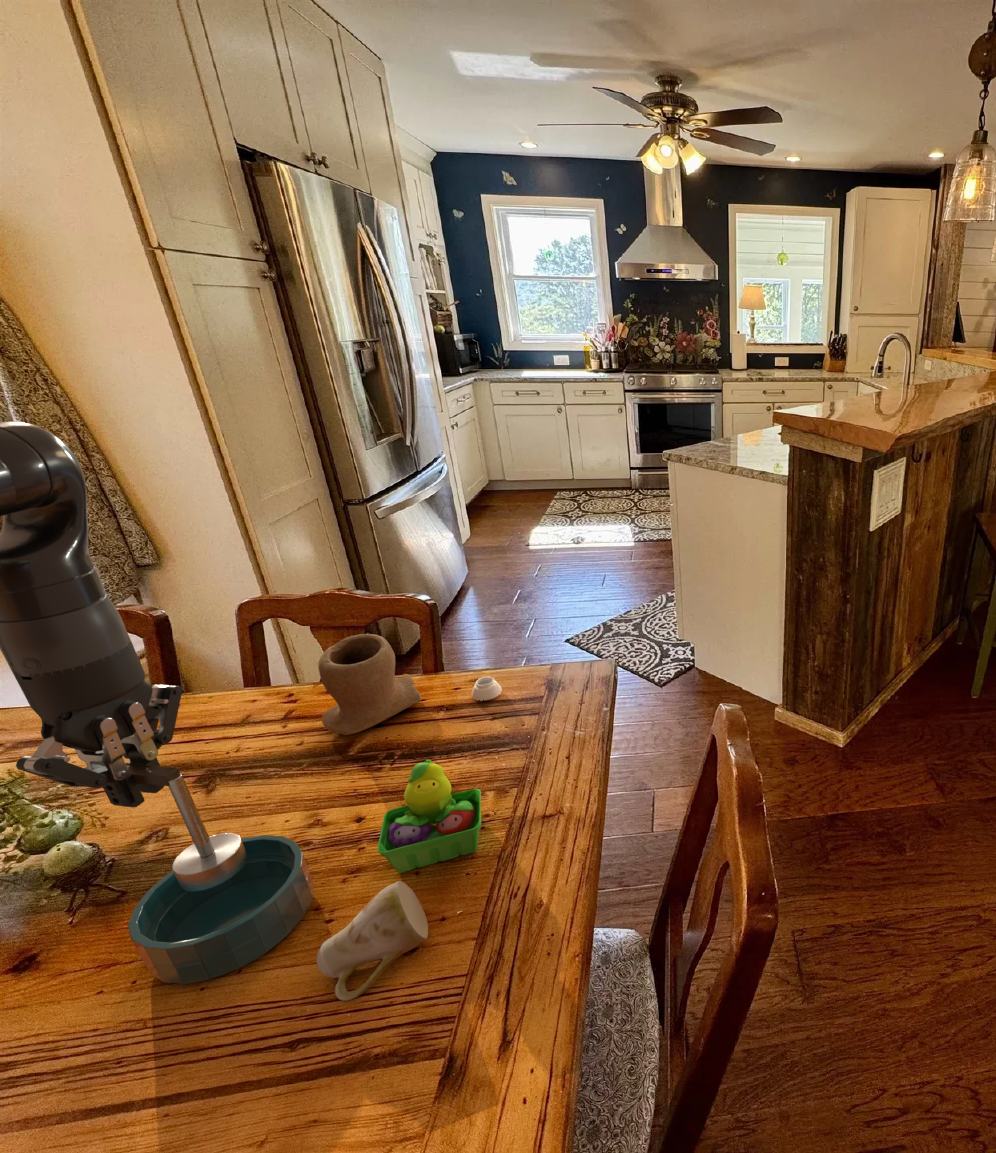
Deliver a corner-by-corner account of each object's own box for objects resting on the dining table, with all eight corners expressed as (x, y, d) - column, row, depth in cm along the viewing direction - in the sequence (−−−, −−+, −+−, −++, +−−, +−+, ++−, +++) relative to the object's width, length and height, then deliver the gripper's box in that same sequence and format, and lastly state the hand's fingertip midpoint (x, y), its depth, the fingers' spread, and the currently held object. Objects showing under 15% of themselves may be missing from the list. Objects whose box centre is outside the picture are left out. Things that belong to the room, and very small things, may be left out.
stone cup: (349, 751, 97) (325, 669, 91) (315, 724, 103) (290, 646, 97) (441, 706, 108) (425, 631, 103) (406, 684, 114) (389, 612, 109)
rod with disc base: (260, 850, 68) (223, 755, 63) (215, 894, 63) (170, 794, 58) (162, 842, 69) (116, 748, 64) (109, 885, 64) (55, 785, 59)
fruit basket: (385, 885, 74) (363, 814, 70) (393, 833, 82) (375, 765, 77) (487, 857, 78) (473, 787, 74) (486, 810, 86) (473, 744, 82)
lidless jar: (490, 704, 109) (507, 689, 114) (487, 690, 108) (505, 675, 113) (466, 700, 110) (484, 685, 115) (463, 686, 109) (481, 672, 114)
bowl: (110, 982, 63) (86, 941, 60) (233, 867, 76) (218, 830, 74) (242, 995, 62) (224, 954, 60) (343, 876, 75) (331, 839, 73)
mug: (313, 958, 66) (345, 867, 66) (412, 956, 71) (441, 871, 71) (302, 1007, 59) (337, 906, 60) (412, 1001, 64) (444, 908, 65)
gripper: (112, 614, 62) (172, 752, 69) (-66, 687, 50) (29, 847, 56) (181, 618, 62) (235, 756, 69) (20, 693, 49) (105, 853, 56)
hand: (141, 797), depth 62 cm, fingers closed on rod with disc base, 1 cm apart
